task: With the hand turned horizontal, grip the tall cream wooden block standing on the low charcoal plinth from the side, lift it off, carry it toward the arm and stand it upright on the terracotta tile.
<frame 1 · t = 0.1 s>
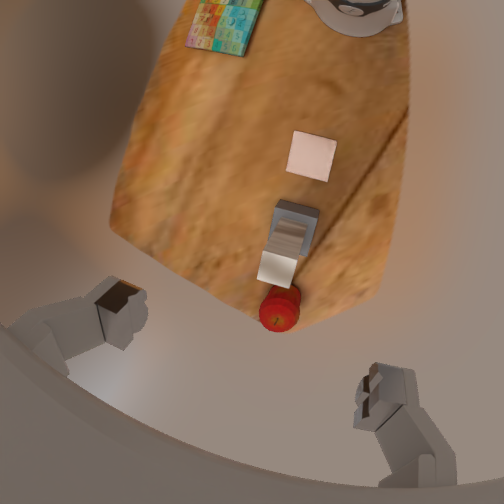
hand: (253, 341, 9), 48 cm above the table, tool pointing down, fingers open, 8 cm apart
terracotta tile: (311, 155, 51), on the table
cream block: (291, 232, 54), point 5 cm above the table, touching charcoal plinth
charcoal plinth: (295, 222, 58), on the table
puzzle game: (234, 11, 42), on the table
apple: (286, 291, 66), on the table
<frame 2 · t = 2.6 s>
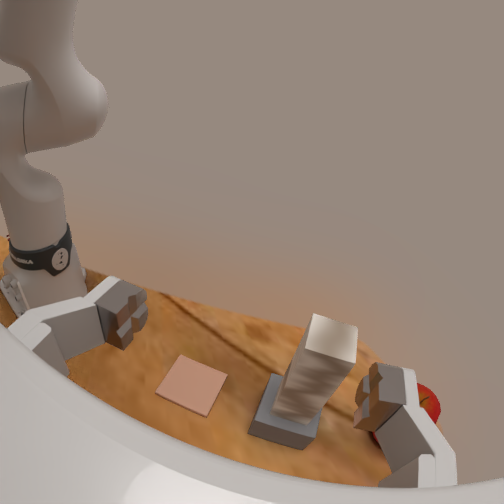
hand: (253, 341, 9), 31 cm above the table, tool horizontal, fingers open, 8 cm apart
terracotta tile: (192, 385, 39), on the table
cream block: (292, 404, 34), point 5 cm above the table, touching charcoal plinth
charcoal plinth: (282, 419, 36), on the table
apple: (384, 433, 35), on the table
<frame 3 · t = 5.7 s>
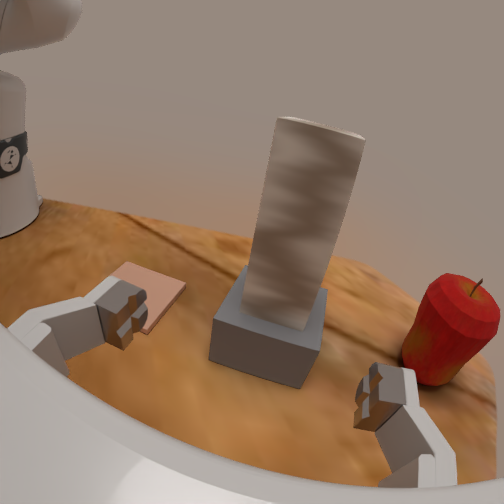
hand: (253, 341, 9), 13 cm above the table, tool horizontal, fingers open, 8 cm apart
terracotta tile: (135, 295, 28), on the table
cream block: (277, 302, 23), point 5 cm above the table, touching charcoal plinth
charcoal plinth: (265, 343, 26), on the table
apple: (420, 369, 25), on the table
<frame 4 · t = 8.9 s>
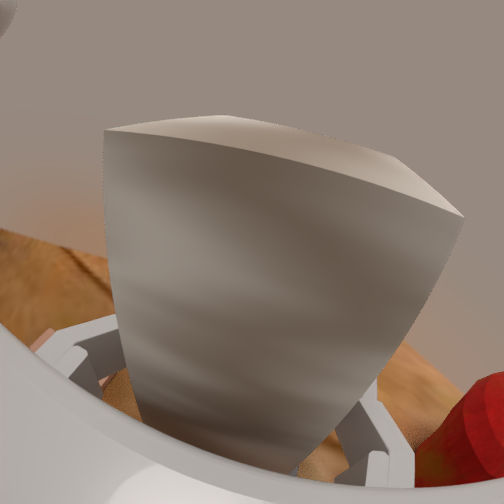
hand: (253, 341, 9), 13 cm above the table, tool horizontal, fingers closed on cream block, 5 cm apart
terracotta tile: (53, 381, 17), on the table
cream block: (223, 445, 12), point 5 cm above the table, touching charcoal plinth, gripper
apple: (432, 478, 14), on the table
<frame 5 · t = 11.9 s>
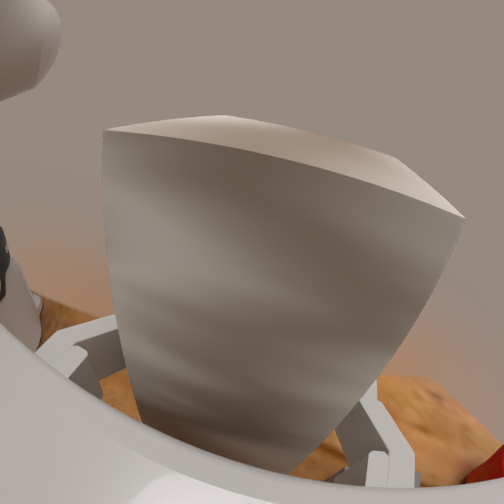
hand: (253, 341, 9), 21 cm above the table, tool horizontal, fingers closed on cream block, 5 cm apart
cream block: (223, 445, 12), point 13 cm above the table, touching gripper
apple: (473, 496, 16), on the table
when the fingers open (10 cm above the table, at t = 14.9 s): cream block drops 1 cm, resting on terracotta tile.
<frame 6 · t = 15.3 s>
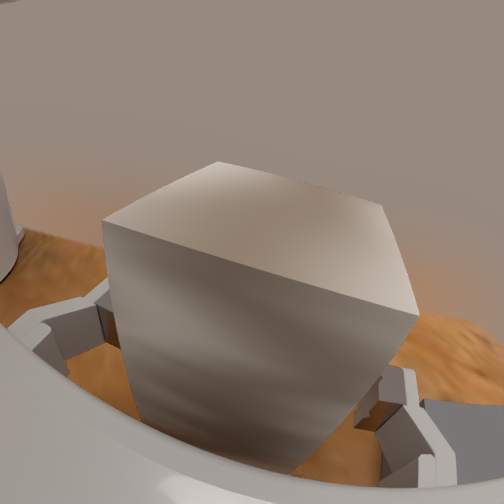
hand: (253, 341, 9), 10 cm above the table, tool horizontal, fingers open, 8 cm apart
cream block: (221, 454, 13), point 1 cm above the table, touching terracotta tile
charcoal plinth: (428, 487, 11), on the table
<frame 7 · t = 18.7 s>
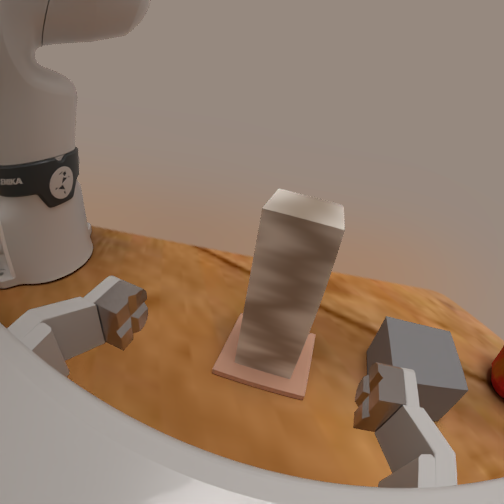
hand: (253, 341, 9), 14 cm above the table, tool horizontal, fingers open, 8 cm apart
terracotta tile: (268, 355, 26), on the table
cream block: (268, 351, 26), point 1 cm above the table, touching terracotta tile
charcoal plinth: (402, 386, 24), on the table
apple: (501, 386, 23), on the table
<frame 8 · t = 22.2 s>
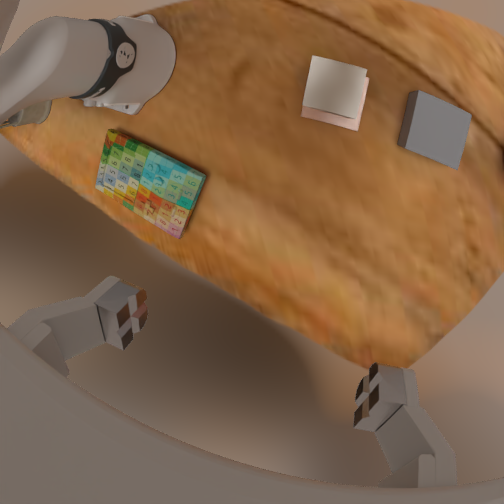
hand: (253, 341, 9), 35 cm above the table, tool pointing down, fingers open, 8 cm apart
terracotta tile: (335, 96, 34), on the table
lamp: (40, 108, 47), on the table
cream block: (335, 96, 34), point 1 cm above the table, touching terracotta tile
charcoal plinth: (428, 128, 32), on the table
puzzle game: (154, 176, 48), on the table
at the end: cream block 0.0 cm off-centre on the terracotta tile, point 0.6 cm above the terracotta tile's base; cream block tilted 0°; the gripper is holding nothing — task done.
